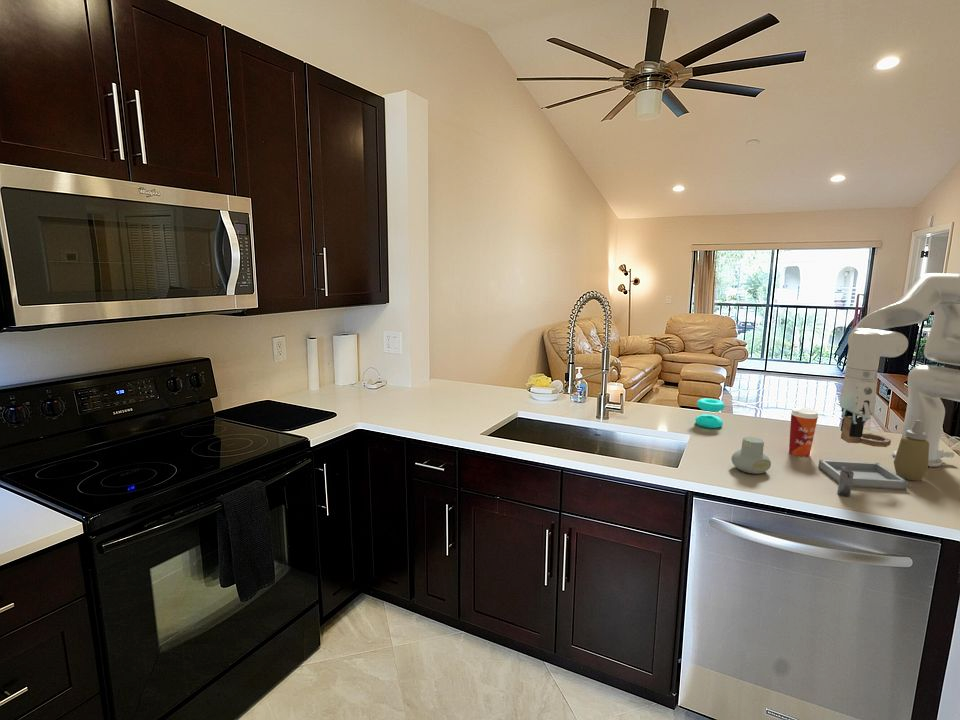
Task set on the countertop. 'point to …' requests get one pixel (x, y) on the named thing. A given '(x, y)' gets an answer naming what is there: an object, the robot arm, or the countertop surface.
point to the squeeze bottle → (912, 454)
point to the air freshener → (751, 456)
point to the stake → (845, 482)
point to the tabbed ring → (865, 437)
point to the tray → (864, 474)
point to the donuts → (712, 406)
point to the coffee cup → (802, 431)
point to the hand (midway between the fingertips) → (851, 433)
